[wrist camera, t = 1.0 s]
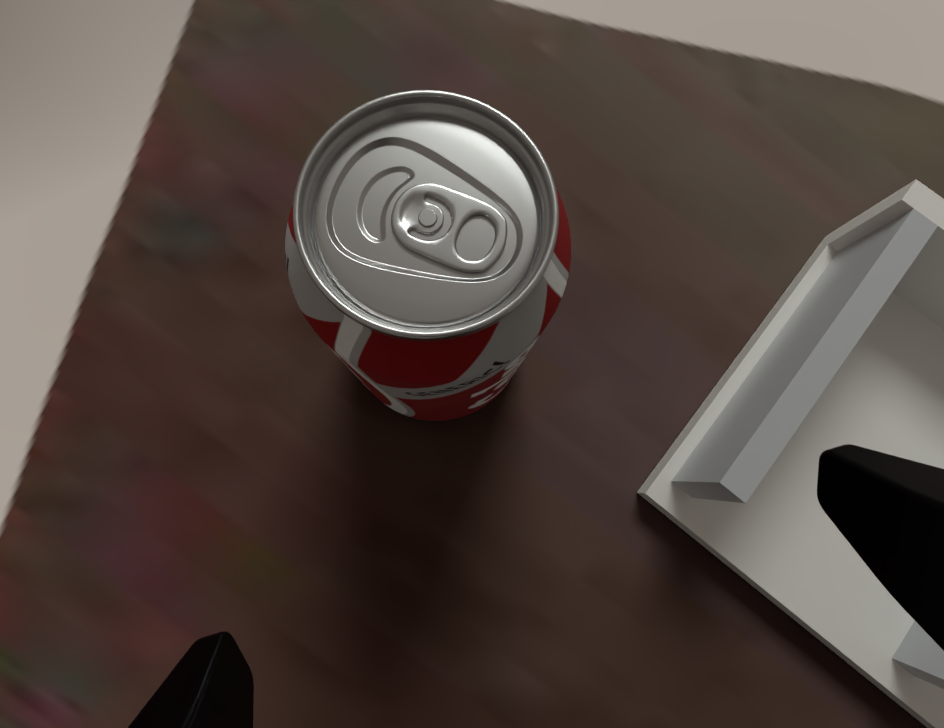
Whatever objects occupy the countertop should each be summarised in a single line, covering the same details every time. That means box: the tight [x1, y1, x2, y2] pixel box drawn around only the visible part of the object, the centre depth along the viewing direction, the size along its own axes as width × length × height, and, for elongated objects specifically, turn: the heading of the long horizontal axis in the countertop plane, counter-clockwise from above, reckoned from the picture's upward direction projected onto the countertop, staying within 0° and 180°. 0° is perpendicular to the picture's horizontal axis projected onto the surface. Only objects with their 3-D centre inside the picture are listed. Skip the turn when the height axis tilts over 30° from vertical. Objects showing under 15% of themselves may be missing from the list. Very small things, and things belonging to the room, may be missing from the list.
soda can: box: [285, 90, 571, 421], centre depth 18 cm, size 7×7×12 cm
